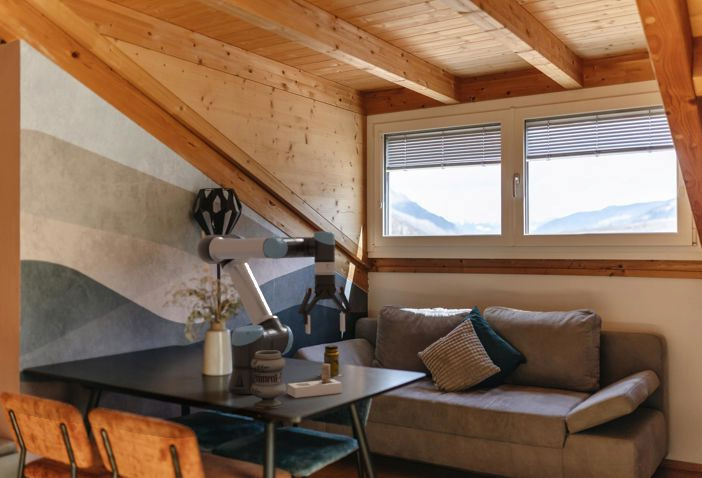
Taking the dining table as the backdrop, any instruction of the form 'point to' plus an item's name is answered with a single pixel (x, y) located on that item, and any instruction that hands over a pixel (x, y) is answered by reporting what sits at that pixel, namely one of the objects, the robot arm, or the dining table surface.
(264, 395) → the apothecary jar
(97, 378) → the dining table surface
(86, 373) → the dining table surface
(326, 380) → the dowel
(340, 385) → the hole block
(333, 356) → the condiment
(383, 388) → the dining table surface
